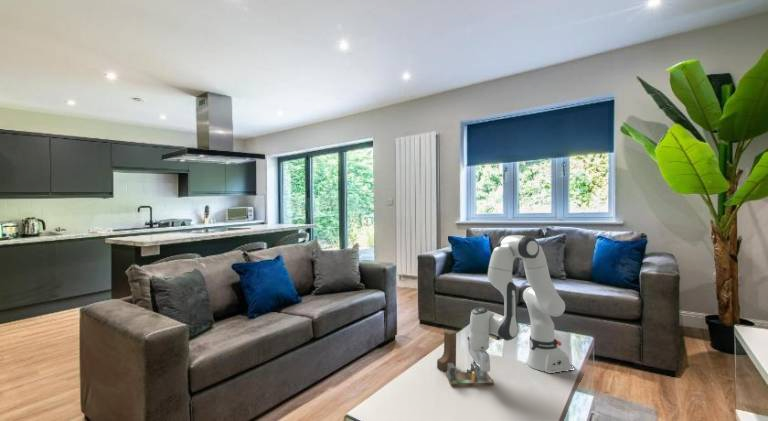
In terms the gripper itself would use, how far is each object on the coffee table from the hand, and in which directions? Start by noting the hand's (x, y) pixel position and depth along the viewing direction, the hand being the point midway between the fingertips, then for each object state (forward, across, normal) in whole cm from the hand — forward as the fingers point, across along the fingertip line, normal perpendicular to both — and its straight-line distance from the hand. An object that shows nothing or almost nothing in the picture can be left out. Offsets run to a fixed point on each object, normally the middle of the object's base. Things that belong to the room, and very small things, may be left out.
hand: (478, 371), depth 167 cm
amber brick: (+2, -4, +4) cm, 6 cm away
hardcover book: (+5, +59, -32) cm, 67 cm away
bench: (+4, 0, +4) cm, 6 cm away
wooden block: (+4, +13, +12) cm, 18 cm away
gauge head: (+2, -1, +1) cm, 3 cm away
